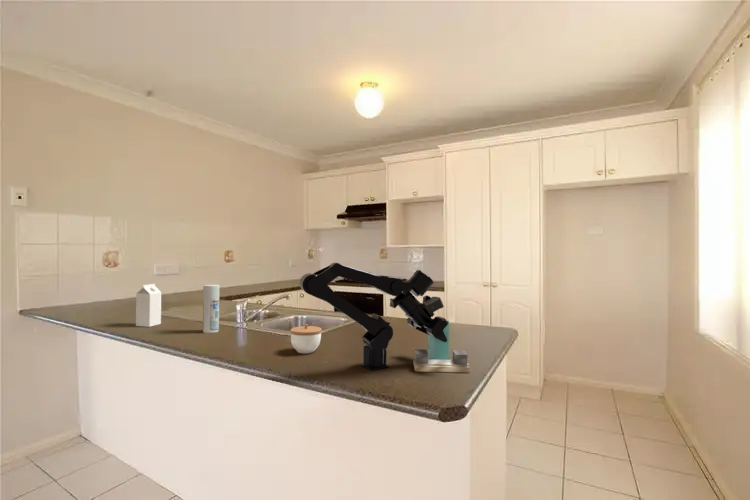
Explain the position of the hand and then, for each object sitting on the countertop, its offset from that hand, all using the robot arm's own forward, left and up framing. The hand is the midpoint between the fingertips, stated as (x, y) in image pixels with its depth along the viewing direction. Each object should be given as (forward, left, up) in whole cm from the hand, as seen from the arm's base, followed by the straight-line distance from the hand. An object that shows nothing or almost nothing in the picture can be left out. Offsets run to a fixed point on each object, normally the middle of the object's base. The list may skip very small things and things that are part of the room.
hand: (442, 339), depth 121 cm
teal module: (-1, 0, -7) cm, 7 cm away
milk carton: (-70, +117, -7) cm, 137 cm away
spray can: (-50, +87, -7) cm, 101 cm away
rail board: (-7, -6, -7) cm, 11 cm away
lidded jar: (-31, +35, -7) cm, 48 cm away
